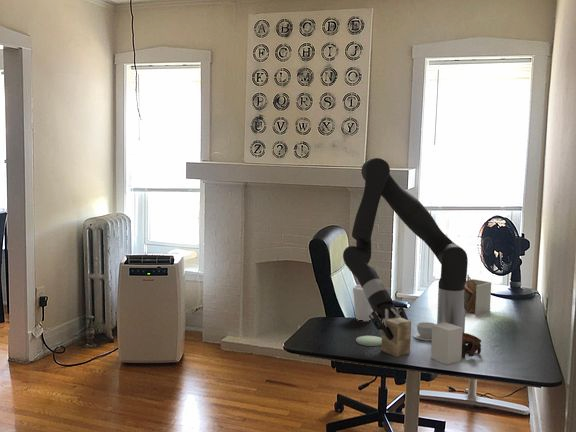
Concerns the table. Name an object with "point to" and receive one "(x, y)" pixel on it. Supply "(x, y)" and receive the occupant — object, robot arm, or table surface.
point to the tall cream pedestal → (446, 343)
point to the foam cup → (361, 304)
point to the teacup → (424, 331)
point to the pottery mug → (470, 345)
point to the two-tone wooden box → (477, 296)
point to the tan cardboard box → (397, 337)
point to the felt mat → (369, 340)
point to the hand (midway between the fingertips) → (399, 337)
